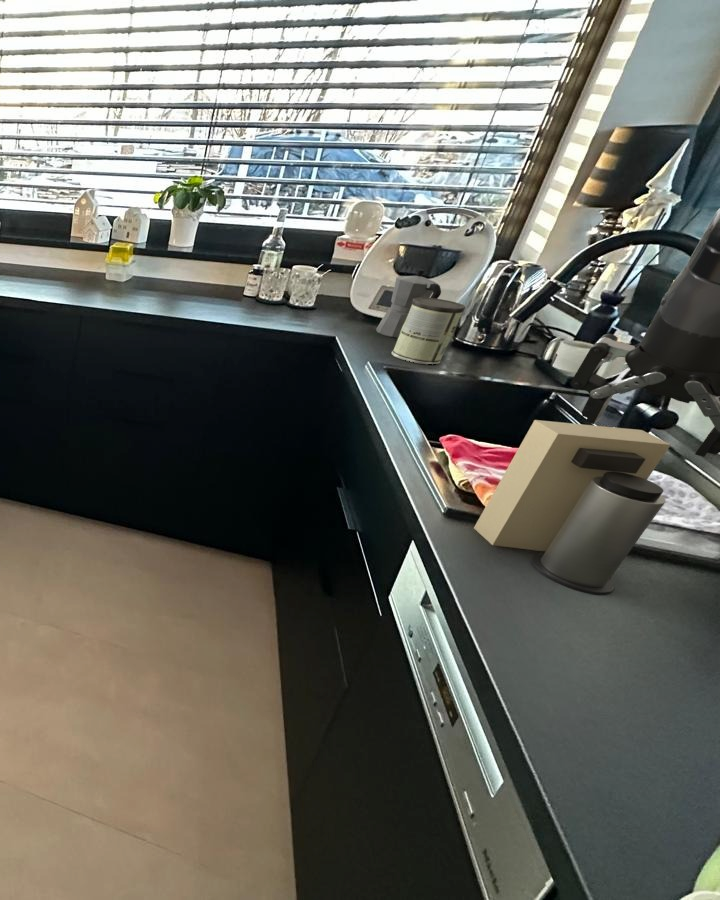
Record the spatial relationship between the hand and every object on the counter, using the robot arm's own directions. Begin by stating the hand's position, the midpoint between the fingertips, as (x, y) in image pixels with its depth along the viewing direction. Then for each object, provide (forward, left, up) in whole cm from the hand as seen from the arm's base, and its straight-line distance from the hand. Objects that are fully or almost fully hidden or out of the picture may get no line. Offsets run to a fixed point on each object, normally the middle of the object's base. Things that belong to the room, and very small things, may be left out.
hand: (645, 434), depth 67 cm
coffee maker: (-3, -3, -21) cm, 22 cm away
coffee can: (-33, -95, -21) cm, 103 cm away
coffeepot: (-39, -116, -21) cm, 125 cm away
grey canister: (-3, -1, -19) cm, 20 cm away
